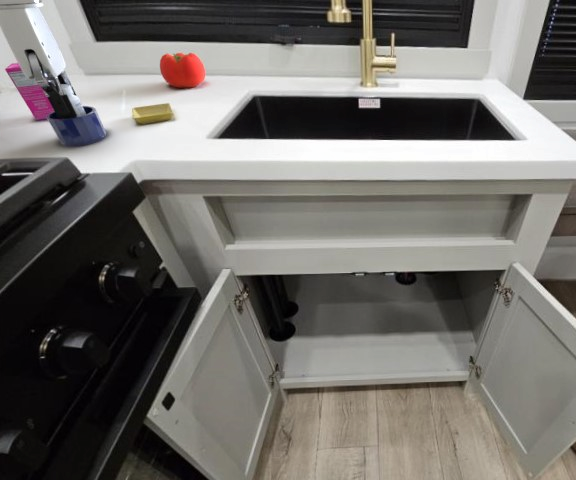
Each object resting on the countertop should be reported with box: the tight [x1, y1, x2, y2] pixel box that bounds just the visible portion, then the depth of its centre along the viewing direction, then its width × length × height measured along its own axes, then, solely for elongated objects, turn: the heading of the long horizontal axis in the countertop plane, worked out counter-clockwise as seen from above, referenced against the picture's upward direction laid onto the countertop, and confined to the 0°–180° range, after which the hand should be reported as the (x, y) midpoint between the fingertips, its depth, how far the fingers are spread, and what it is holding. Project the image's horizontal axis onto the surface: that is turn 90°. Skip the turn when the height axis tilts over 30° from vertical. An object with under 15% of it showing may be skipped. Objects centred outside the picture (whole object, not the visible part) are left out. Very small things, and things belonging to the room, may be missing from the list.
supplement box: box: [4, 62, 54, 122], centre depth 76 cm, size 6×6×12 cm
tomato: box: [159, 52, 206, 89], centre depth 97 cm, size 13×12×8 cm
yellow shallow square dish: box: [131, 102, 174, 125], centre depth 77 cm, size 9×9×2 cm
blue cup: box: [46, 105, 107, 147], centre depth 67 cm, size 9×9×6 cm
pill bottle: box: [60, 84, 86, 119], centre depth 65 cm, size 5×5×8 cm
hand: (70, 112), depth 65 cm, fingers closed on pill bottle, 4 cm apart
